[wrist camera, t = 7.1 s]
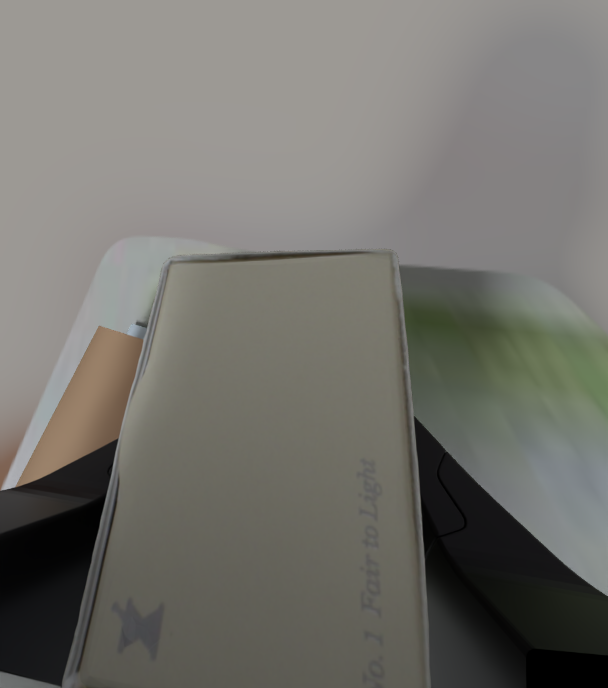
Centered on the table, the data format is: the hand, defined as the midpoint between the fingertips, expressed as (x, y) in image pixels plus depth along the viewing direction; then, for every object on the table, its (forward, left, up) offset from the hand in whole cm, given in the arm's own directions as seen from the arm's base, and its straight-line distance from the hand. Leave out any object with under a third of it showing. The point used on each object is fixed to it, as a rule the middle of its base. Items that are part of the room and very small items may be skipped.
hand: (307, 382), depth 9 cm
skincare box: (0, +1, -7) cm, 7 cm away
